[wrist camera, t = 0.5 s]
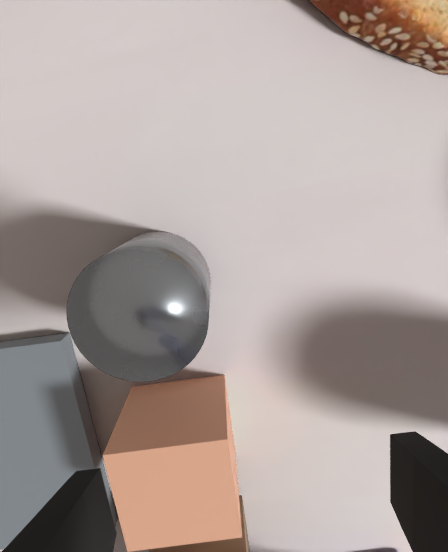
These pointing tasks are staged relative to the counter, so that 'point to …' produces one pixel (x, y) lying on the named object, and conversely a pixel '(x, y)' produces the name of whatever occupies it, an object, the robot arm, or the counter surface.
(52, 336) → the mat
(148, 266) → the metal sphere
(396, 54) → the slice of bread
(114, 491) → the terracotta block
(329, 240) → the counter surface
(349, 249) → the counter surface
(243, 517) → the walnut block
